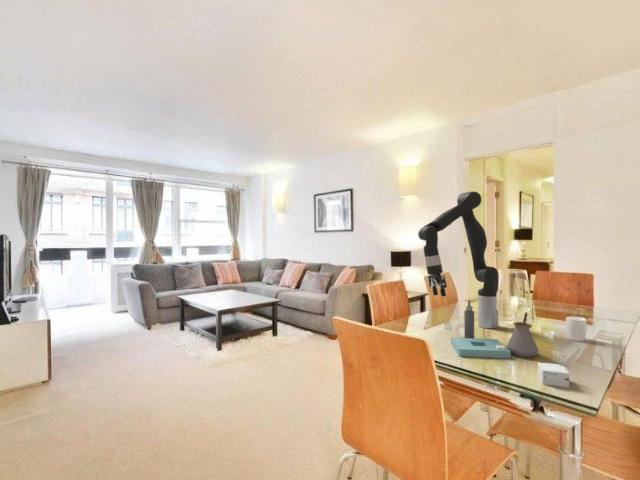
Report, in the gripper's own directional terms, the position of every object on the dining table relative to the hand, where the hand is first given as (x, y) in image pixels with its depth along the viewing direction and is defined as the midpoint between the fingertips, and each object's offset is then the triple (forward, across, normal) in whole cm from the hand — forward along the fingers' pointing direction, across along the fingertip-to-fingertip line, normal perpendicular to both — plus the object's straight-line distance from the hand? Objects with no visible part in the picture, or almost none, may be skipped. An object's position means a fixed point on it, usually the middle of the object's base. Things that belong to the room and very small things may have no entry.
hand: (439, 295), depth 172 cm
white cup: (+30, -17, -55) cm, 65 cm away
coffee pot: (+26, -27, -20) cm, 43 cm away
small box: (+27, -56, -8) cm, 63 cm away
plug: (+22, -10, -6) cm, 25 cm away
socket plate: (+23, -24, -2) cm, 33 cm away
